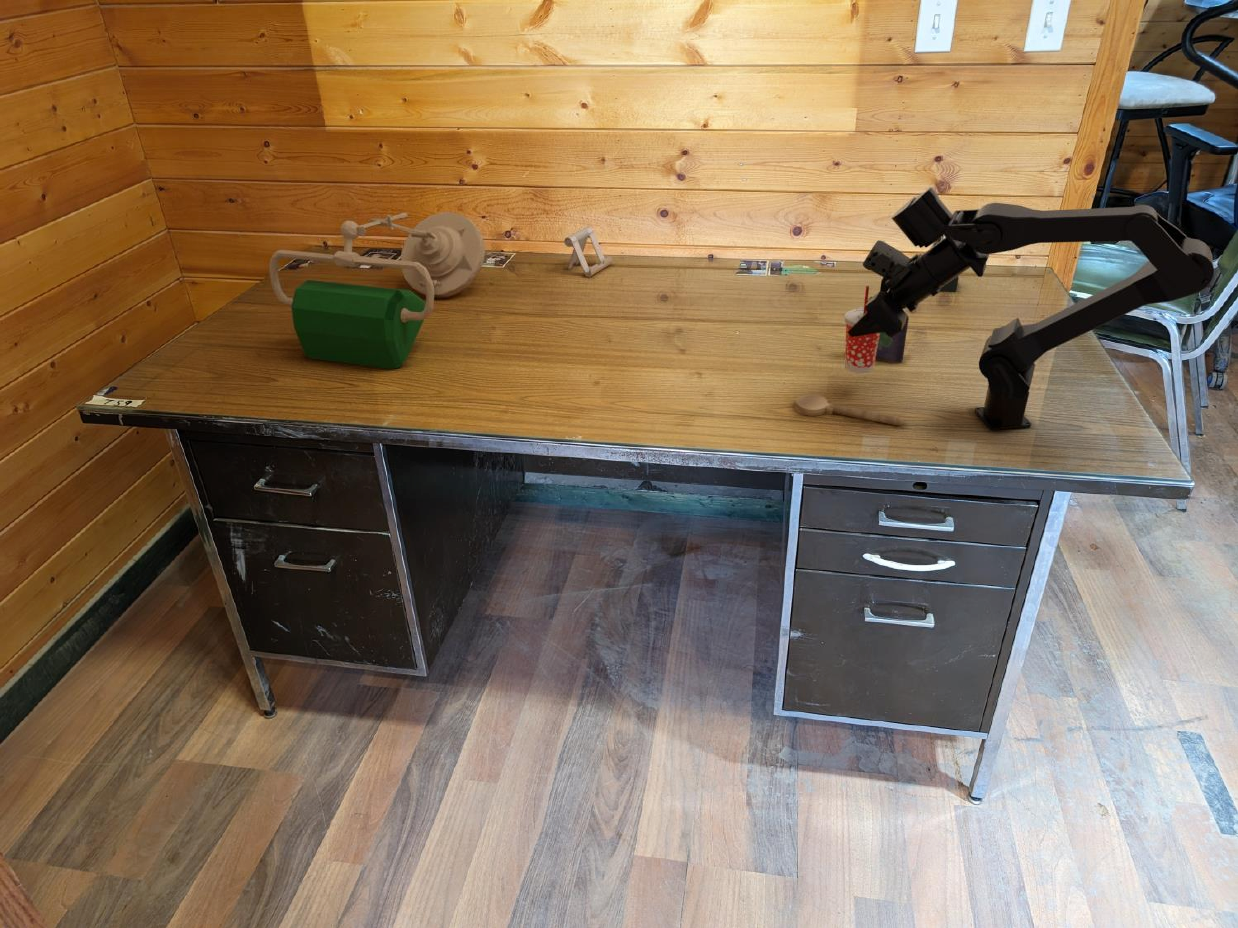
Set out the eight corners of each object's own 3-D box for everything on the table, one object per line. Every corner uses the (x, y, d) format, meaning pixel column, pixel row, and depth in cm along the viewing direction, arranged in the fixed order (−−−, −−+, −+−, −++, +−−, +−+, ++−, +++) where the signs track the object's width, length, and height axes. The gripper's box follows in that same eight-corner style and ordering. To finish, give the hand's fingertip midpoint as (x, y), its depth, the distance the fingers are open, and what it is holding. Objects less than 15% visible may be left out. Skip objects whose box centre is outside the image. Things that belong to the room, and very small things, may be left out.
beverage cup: (865, 379, 144) (874, 297, 137) (832, 368, 148) (839, 288, 140) (885, 365, 148) (895, 285, 140) (852, 355, 151) (860, 276, 144)
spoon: (905, 418, 143) (906, 410, 142) (898, 433, 139) (899, 425, 138) (800, 398, 150) (801, 390, 149) (791, 412, 146) (791, 404, 145)
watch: (922, 280, 191) (930, 229, 185) (962, 282, 189) (971, 231, 183) (924, 290, 186) (932, 238, 180) (965, 292, 184) (974, 240, 178)
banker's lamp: (349, 393, 198) (232, 332, 161) (393, 218, 204) (291, 123, 168) (491, 413, 188) (401, 354, 151) (533, 229, 194) (456, 130, 158)
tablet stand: (591, 278, 199) (589, 241, 194) (562, 272, 202) (559, 236, 198) (612, 265, 205) (610, 229, 200) (583, 260, 209) (581, 224, 204)
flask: (848, 356, 162) (855, 300, 156) (852, 349, 164) (859, 294, 158) (901, 364, 158) (910, 308, 153) (904, 357, 161) (912, 301, 155)
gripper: (913, 209, 140) (837, 269, 151) (886, 248, 127) (805, 310, 137) (958, 263, 142) (880, 319, 152) (936, 307, 128) (852, 365, 138)
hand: (854, 326), depth 145 cm, fingers closed on beverage cup, 6 cm apart
